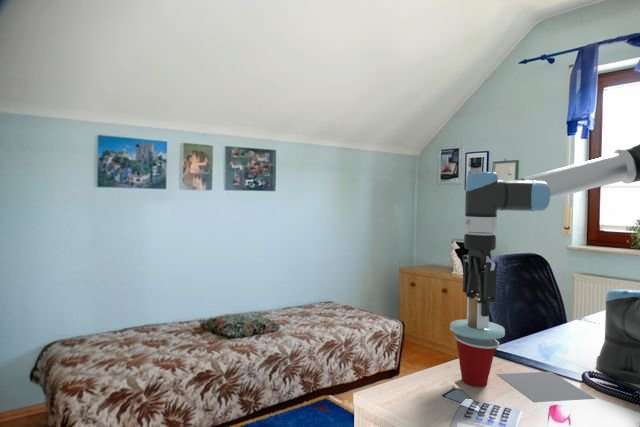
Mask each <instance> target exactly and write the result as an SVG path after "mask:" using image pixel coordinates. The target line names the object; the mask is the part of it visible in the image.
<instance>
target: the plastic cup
mask: <svg viewBox="0 0 640 427" xmlns="http://www.w3.org/2000/svg"><path fill="white" fill-rule="evenodd" d="M454 334H455V333H454ZM454 339H455V342H456V348H457V352H458V360H459V361H458V362H459V370H460V373H461V381H462V382H463V384H465V385H468V386H471V387H476V388H477V387H478V388H481V387H485V386H487V385H488V381H489V375H490V373H491V368H492V365H493V364H492V363H493V360H494V356H495V353H496V351H497V350H498V348H499V347H500V342H499V341H498V340H497V339H490V340H486V339H474V338H468V337H464V336H461V335H458V334H455V335H454Z"/></svg>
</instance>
